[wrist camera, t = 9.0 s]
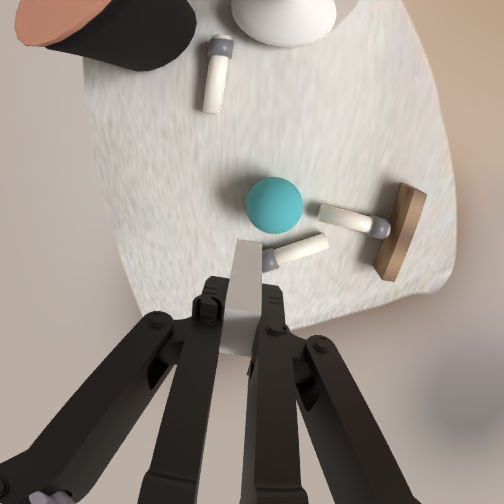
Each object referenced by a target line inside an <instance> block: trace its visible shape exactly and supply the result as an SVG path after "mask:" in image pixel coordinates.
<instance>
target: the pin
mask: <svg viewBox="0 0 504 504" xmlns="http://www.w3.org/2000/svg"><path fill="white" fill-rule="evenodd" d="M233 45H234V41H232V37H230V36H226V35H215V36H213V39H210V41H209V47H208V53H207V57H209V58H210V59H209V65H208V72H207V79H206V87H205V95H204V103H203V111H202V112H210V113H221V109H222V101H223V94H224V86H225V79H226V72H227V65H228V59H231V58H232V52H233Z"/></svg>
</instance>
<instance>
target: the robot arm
mask: <svg viewBox="0 0 504 504" xmlns="http://www.w3.org/2000/svg"><path fill="white" fill-rule="evenodd" d="M219 352H223V353H229V354H235V355H243V356H249V357H250V356H251V361H250V365H249V368H248V372H247V375H249V379H248V395H247V410H246V426H245V442H244V456H243V473H242V486H241V499H240V503H239V504H309V502H308V496H307V493H306V491H305V490H304V489H303V488H302V486H301V476H300V456H299V439H298V424H297V408H296V400H297V403H298V406H299V409H300V411H301V414H302V417H303V419H304V422H305V425H306V427H307V430H308V433H309V436H310V438H311V441H312V444H313V446H314V449H315V451H316V454H317V457H318V460H319V462H320V465H321V468H322V470H323V473H324V476H325V478H326V481H327V484H328V486H329V489H330V492H331V494H332V497H333V499H334V502H335V504H421V503H420V502H419V501H418V500H417V499H415V497H413V495H412V493H411V491H410V488H409V486H408V484H407V482H406V480H405V478H404V476H403V475H402V472H401V470H400V468H399V466H398V464H397V462H396V460H395V458H394V456H393V454H392V452H391V450H390V448H389V446H388V444H387V442H386V440H385V438H384V436H383V435H382V432H381V430H380V428H379V426H378V424H377V422H376V421H375V419H374V417H373V415H372V413H371V411H370V409H369V407H368V405H367V403H366V402H365V400H364V398H363V396H362V394H361V392H360V391H359V388H358V386H357V385H356V383H355V381H354V379H353V377H352V375H351V373H350V372H349V370H348V368H347V366H346V364H345V363H344V361H343V359H342V357H341V355H340V354H339V352H338V350H337V348H336V347H335V344H334V343H333V342H332V341H331V340H330V339H328V338H327V337H325V336H322V335H314V336H311V337H309V338H308V339H307V340H305V339H302V338H299V337H297V336H295V335H293V334H292V333H291V332H290V330H289V328H288V326H287V325H286V324H285V313H284V303H283V292H282V291H281V289H280V288H279V286H275V285H269V284H262V243H258V242H253V241H247V240H241V239H238V240H237V245H236V250H235V255H234V260H233V265H232V270H231V275H230V279H228V278H222V277H216V276H211V277H209V278H208V279H207V280H206V282H205V285H204V288H203V291H202V294H201V295H199V296H197V297H196V298H195V299H194V300H193V307H192V316H191V317H189V318H186V319H181V320H173V319H172V317H171V316H170V315H169V314H167V313H165V312H161V311H153V312H150V313H148V314H146V315H145V316H144V317H143V318H142V319H141V320H140V321H139V322H138V323H137V324H136V325H135V326H134V327H133V329H132V330H131V331H130V332H129V333H128V334H127V335H126V336H125V337H124V338H123V339H122V340H121V342H120V343H119V344H118V345H117V346H116V347H115V348H114V349H113V350H112V352H111V353H110V354H109V355H108V356H107V357H106V358H105V359H104V361H102V363H101V364H100V365H99V366H98V367H97V368H96V369H95V370H94V371H93V373H92V374H91V375H90V376H89V377H88V378H87V379H86V381H85V382H84V383H83V384H82V385H81V386H80V388H79V389H78V390H77V391H76V392H75V393H74V394H73V396H72V397H71V398H70V399H69V400H68V401H67V403H66V404H65V405H64V406H63V407H62V408H61V410H60V411H59V412H58V413H57V415H56V416H55V417H54V418H53V419H52V420H51V422H50V423H49V424H48V425H47V427H46V428H45V429H44V430H43V431H42V433H41V434H40V435H39V436H38V438H37V439H36V440H35V441H34V443H33V444H32V445H31V446H30V448H29V449H28V450H26V451H25V452H22V453H20V454H18V455H17V456H15V457H13V458H11V459H9V460H7V461H5V462H3V463H0V503H1V504H76V503H78V502H79V501H80V500H81V499H83V498H84V497H85V496H86V495H87V494H88V493H89V491H90V490H91V489H92V487H93V486H94V485H95V483H96V482H97V480H98V479H99V477H100V476H101V474H102V473H103V471H104V470H105V468H106V467H107V465H108V464H109V462H110V461H111V459H112V458H113V456H114V455H115V453H116V452H117V450H118V449H119V447H120V445H121V444H122V443H123V441H124V440H125V438H126V437H127V435H128V434H129V432H130V431H131V429H132V428H133V426H134V425H135V423H136V422H137V420H138V419H139V417H140V416H141V414H142V413H143V411H144V410H145V408H146V407H147V405H148V404H149V402H150V401H151V399H152V398H153V396H154V394H155V393H156V392H157V390H158V389H159V387H160V386H161V384H162V383H163V381H164V380H165V378H166V377H167V375H168V374H169V372H170V371H171V369H172V368H173V366H174V365H175V364H177V368H176V371H175V375H174V378H173V382H172V385H171V388H170V392H169V396H168V399H167V403H166V407H165V410H164V414H163V418H162V422H161V425H160V429H159V433H158V437H157V441H156V445H155V449H154V453H153V457H152V461H151V465H150V468H149V470H148V471H147V472H146V474H145V476H144V478H143V481H142V485H141V489H140V494H139V498H138V503H137V504H196V503H197V494H198V486H199V480H200V473H201V465H202V459H203V451H204V445H205V438H206V432H207V425H208V418H209V412H210V405H211V399H212V393H213V386H214V380H215V374H216V368H217V362H218V354H219ZM251 352H252V353H251Z"/></svg>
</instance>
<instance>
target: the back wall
mask: <svg viewBox="0 0 504 504" xmlns="http://www.w3.org/2000/svg"><path fill="white" fill-rule="evenodd" d="M426 197H427V194H426V193H424V192H422V191H420V190H418V189H416V188H414V187H412V186H409V185H406V184H403V183H401V186H400V189H399V193H398V196H397V200H396V203H395V206H394V209H393V212H392V216H391V219H390V222H389V223H390V224H391V231H390V234H389V236H388V237H387V238H384V239H383V242H382V245H381V247H380V250H379V253H378V255H377V258H376V261H375V263H374V266H373V267H374V268H375V270H376V272H377V273H378V275H379V276H380V278H381V279H382V280H385V281H392V282H395V280H396V277H397V275H398V273H399V270H400V268H401V266H402V263H403V261H404V258H405V256H406V253H407V251H408V248H409V246H410V243H411V241H412V238H413V235H414V233H415V230H416V227H417V224H418V221H419V218H420V215H421V212H422V209H423V206H424V203H425V200H426Z"/></svg>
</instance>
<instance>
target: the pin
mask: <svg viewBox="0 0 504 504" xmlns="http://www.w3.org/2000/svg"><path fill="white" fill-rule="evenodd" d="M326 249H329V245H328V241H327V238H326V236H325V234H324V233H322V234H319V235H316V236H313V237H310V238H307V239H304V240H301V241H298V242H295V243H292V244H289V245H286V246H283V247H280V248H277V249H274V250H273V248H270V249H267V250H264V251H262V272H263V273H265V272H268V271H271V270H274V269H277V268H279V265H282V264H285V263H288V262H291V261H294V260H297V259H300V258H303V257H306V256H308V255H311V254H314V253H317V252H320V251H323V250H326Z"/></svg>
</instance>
